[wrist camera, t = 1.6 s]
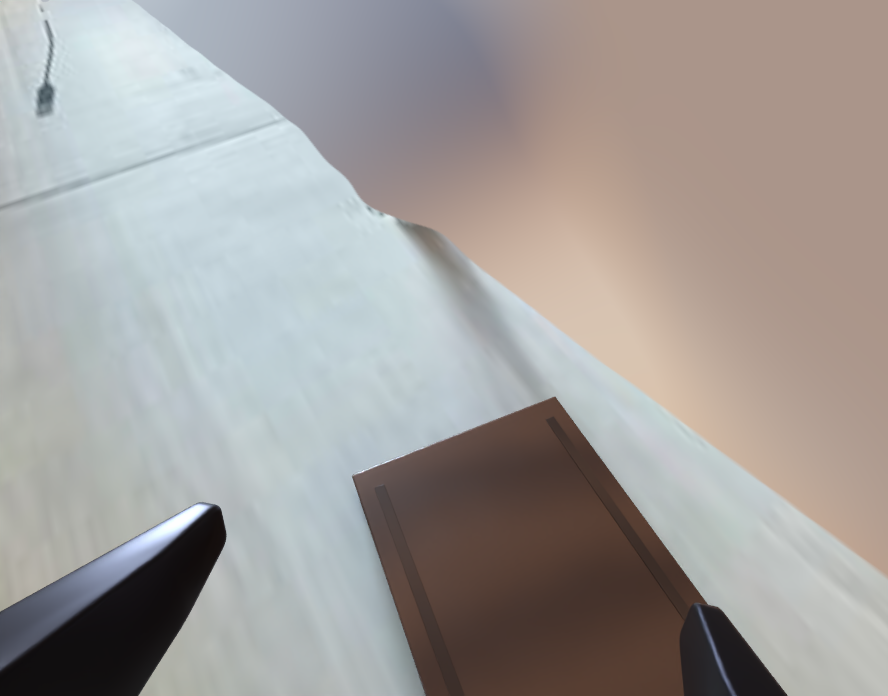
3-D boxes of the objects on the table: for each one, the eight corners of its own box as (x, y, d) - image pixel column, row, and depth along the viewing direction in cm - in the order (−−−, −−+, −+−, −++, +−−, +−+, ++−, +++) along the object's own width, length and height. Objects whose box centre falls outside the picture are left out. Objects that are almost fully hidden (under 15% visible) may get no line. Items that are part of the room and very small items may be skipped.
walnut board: (866, 852, 17) (894, 855, 16) (559, 1092, 14) (567, 1116, 13) (552, 411, 30) (555, 395, 28) (356, 488, 27) (351, 474, 26)
